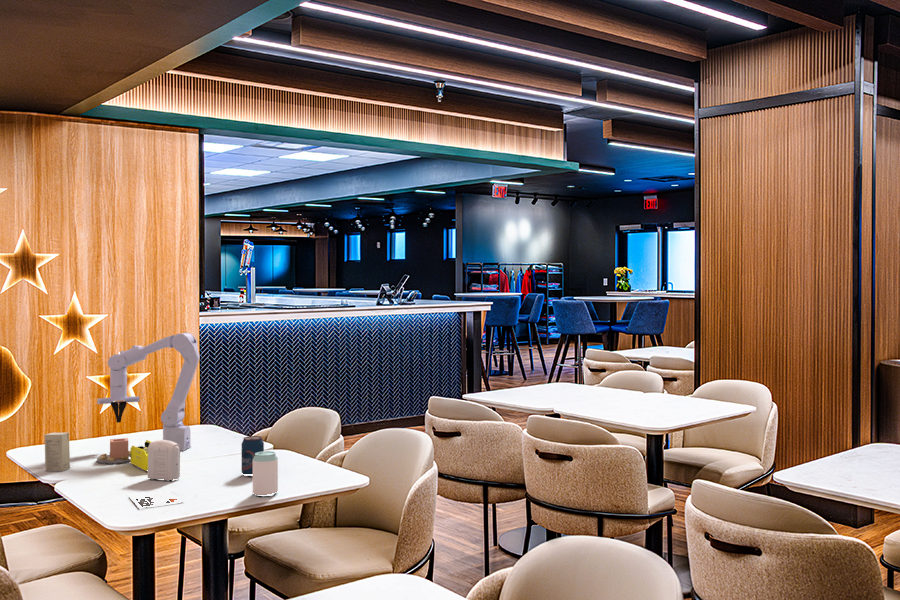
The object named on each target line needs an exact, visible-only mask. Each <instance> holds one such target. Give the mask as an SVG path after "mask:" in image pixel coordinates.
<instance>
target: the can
mask: <svg viewBox="0 0 900 600" xmlns="http://www.w3.org/2000/svg"><path fill="white" fill-rule="evenodd" d="M278 459H279V458H278V456H277V455H276V452H275V451H271V450H270V451H268V450H264V451H263V452H257V453H255V456H254V458H253V477H252V494H253V493H254V494H256V495H267V494H272V493H275V492H277V491H278V492H279V489H278V488H279V486H278V485H279V483H278V482H279V476H278V475H279V474H278V473H279V471H278V470H279V467H278V466H279V465H278V462H279V461H278ZM278 492H277V493H278ZM254 494H253V495H254ZM256 495H255V496H256Z"/></svg>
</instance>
